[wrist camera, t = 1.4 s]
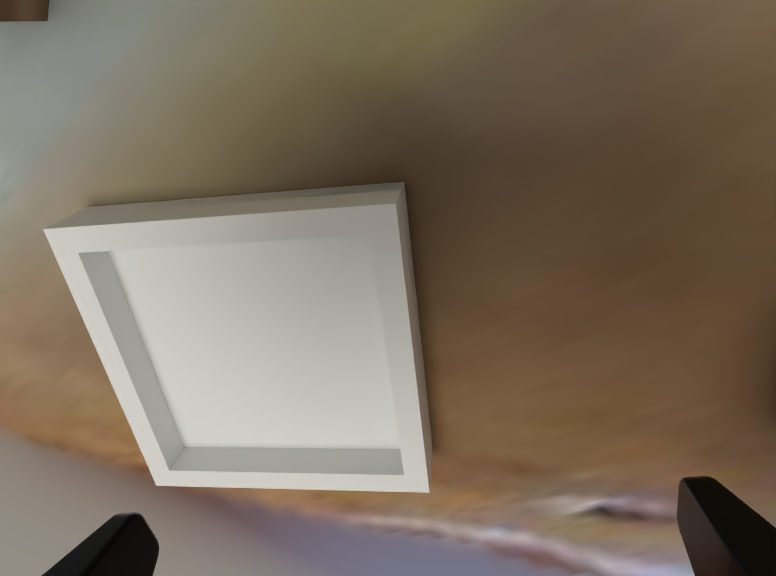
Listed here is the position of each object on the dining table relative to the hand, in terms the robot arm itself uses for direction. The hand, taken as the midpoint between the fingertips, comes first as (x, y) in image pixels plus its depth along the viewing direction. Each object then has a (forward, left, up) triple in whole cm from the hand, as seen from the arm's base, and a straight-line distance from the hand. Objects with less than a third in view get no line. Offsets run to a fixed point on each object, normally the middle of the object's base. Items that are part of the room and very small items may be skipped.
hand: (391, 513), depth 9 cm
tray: (+7, +4, -13) cm, 15 cm away
